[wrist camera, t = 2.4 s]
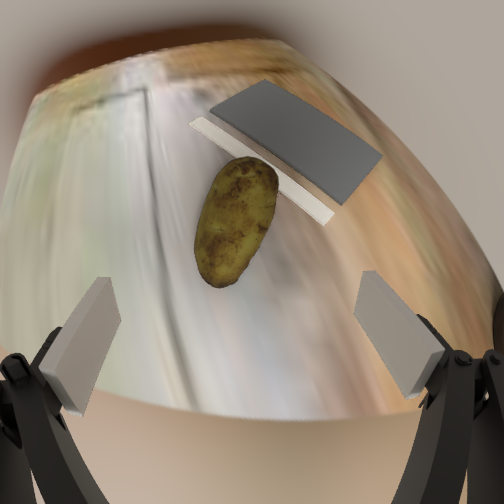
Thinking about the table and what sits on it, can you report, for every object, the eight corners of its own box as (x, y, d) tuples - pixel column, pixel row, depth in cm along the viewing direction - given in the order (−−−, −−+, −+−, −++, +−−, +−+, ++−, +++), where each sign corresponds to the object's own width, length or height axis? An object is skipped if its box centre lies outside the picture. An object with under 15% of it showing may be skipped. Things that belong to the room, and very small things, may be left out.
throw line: (334, 214, 34) (334, 213, 33) (323, 226, 33) (324, 225, 33) (200, 117, 38) (200, 116, 38) (188, 125, 38) (188, 123, 37)
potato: (166, 254, 30) (148, 221, 23) (238, 179, 34) (241, 134, 27) (225, 301, 29) (223, 281, 21) (293, 216, 33) (310, 176, 26)
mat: (381, 157, 38) (382, 155, 38) (341, 205, 34) (342, 203, 34) (264, 81, 43) (265, 79, 43) (209, 111, 39) (209, 109, 38)
